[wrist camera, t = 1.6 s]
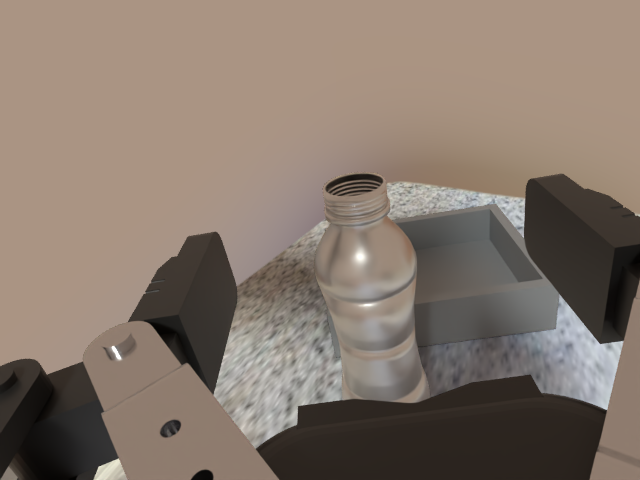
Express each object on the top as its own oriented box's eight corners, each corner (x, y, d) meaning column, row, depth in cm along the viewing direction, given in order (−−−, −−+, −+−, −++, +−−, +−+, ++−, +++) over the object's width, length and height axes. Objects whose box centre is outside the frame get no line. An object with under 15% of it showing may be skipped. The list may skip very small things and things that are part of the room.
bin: (336, 357, 42) (327, 316, 40) (331, 265, 56) (325, 230, 54) (555, 328, 40) (560, 283, 38) (495, 240, 54) (495, 203, 52)
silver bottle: (423, 461, 32) (398, 211, 22) (334, 439, 35) (278, 208, 25) (438, 391, 37) (424, 161, 27) (360, 377, 40) (321, 163, 30)
